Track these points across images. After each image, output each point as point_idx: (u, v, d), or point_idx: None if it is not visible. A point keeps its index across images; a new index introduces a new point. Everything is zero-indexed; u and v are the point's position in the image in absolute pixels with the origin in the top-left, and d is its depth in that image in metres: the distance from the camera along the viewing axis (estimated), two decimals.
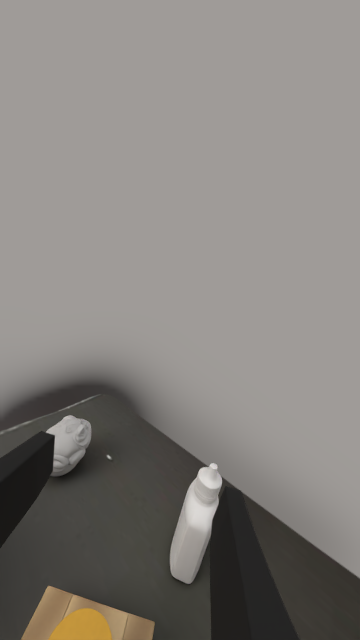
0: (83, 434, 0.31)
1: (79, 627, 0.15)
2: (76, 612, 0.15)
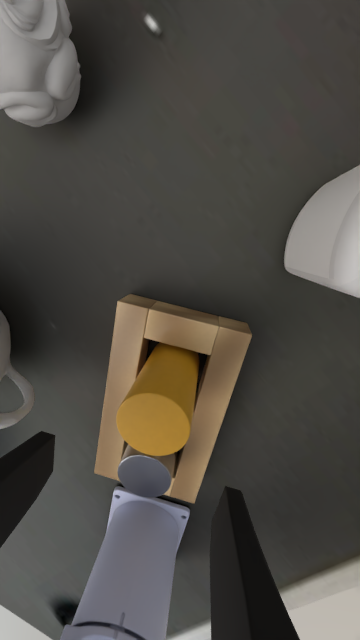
0: None
1: (147, 407, 0.12)
2: (138, 396, 0.12)
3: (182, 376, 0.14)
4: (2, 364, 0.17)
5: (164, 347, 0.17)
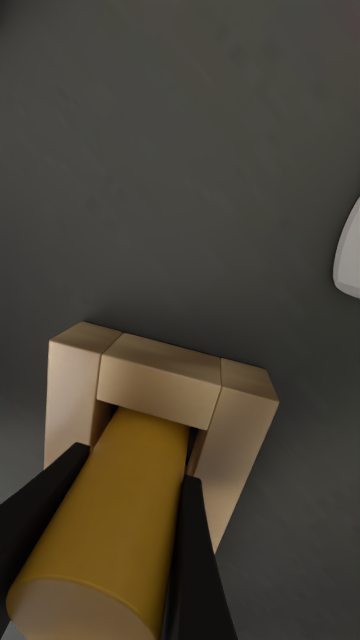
0: None
1: (64, 601, 0.06)
2: (43, 581, 0.05)
3: (152, 491, 0.08)
4: None
5: (131, 410, 0.11)
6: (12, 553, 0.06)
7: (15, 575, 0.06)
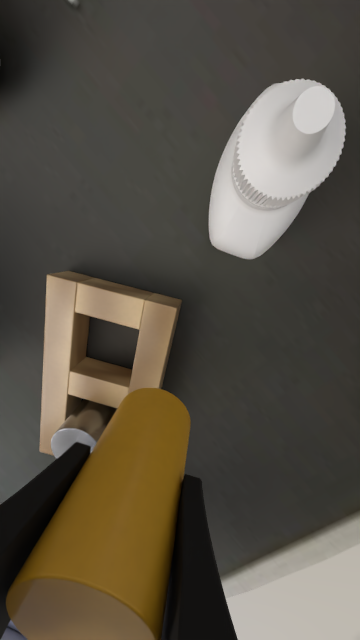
0: None
1: (64, 601, 0.06)
2: (43, 581, 0.05)
3: (152, 490, 0.08)
4: None
5: (132, 410, 0.11)
6: (12, 553, 0.06)
7: (15, 575, 0.06)
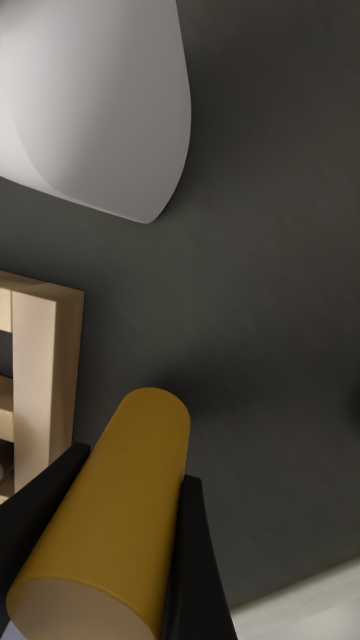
0: None
1: (64, 600, 0.06)
2: (43, 581, 0.05)
3: (152, 490, 0.08)
4: None
5: (132, 409, 0.11)
6: (12, 553, 0.06)
7: (15, 575, 0.06)
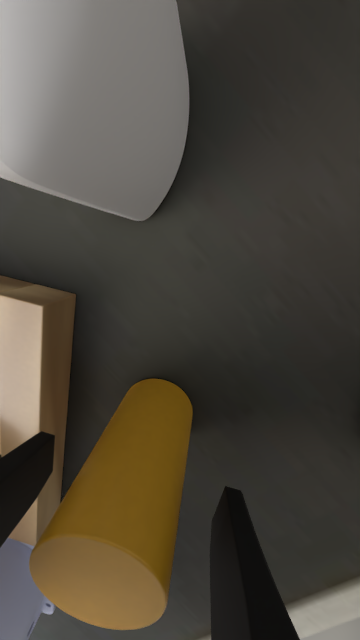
0: None
1: (82, 558, 0.06)
2: (65, 540, 0.06)
3: (159, 468, 0.08)
4: None
5: (138, 398, 0.11)
6: None
7: None
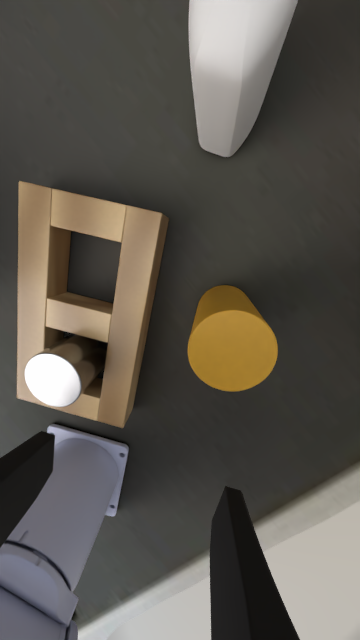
0: None
1: (228, 329, 0.10)
2: (219, 315, 0.10)
3: (254, 307, 0.13)
4: None
5: (219, 289, 0.16)
6: None
7: None
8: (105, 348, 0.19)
